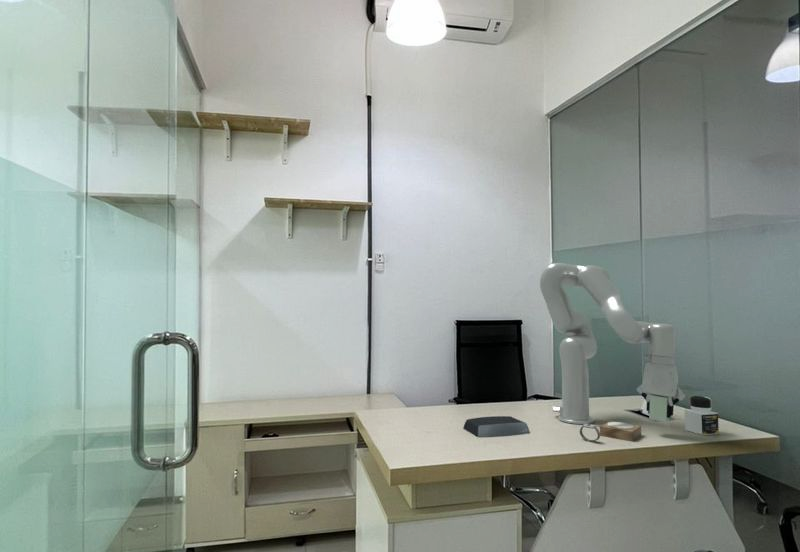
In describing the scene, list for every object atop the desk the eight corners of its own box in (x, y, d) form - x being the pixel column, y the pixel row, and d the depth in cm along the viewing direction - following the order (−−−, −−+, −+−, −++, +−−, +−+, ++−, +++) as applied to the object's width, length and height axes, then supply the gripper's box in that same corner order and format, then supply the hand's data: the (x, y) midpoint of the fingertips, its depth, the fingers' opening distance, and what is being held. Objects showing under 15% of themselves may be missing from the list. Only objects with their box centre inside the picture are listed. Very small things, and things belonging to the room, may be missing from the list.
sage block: (649, 419, 158) (650, 394, 158) (653, 416, 162) (654, 392, 162) (665, 422, 155) (666, 397, 155) (669, 419, 159) (670, 395, 159)
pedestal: (600, 435, 157) (599, 425, 158) (610, 429, 165) (610, 419, 165) (632, 441, 151) (632, 430, 151) (641, 435, 158) (641, 424, 158)
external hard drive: (531, 435, 159) (531, 422, 159) (479, 439, 153) (479, 426, 153) (511, 425, 171) (511, 414, 172) (462, 429, 166) (462, 417, 166)
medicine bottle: (702, 435, 158) (701, 399, 159) (684, 430, 165) (683, 395, 166) (719, 434, 160) (718, 398, 161) (700, 428, 167) (699, 394, 168)
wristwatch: (601, 442, 149) (601, 426, 150) (597, 444, 147) (597, 427, 148) (582, 438, 154) (582, 422, 154) (578, 440, 152) (578, 424, 152)
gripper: (630, 358, 162) (628, 411, 161) (688, 365, 150) (686, 423, 150) (637, 356, 167) (635, 408, 167) (693, 363, 156) (691, 419, 155)
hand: (659, 414), depth 158 cm, fingers closed on sage block, 5 cm apart
